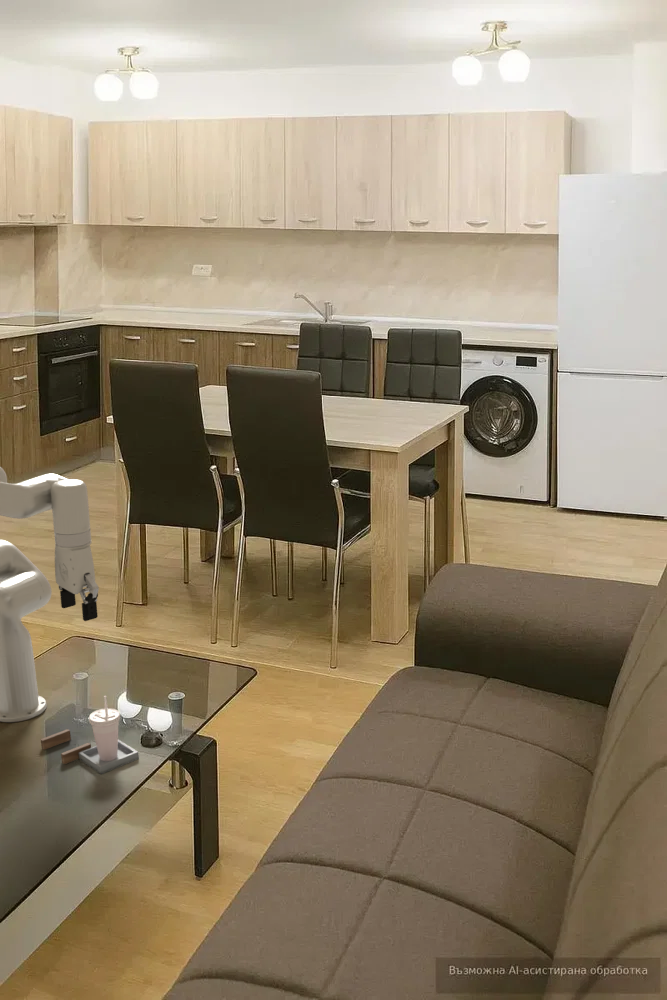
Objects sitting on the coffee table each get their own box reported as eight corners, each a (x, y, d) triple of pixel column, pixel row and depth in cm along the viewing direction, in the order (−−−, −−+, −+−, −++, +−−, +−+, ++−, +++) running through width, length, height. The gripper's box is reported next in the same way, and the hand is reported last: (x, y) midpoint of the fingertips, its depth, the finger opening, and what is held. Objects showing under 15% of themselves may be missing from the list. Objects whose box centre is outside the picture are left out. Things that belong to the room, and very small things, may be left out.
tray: (79, 759, 233) (78, 752, 232) (116, 744, 238) (115, 737, 238) (101, 774, 226) (100, 767, 226) (138, 758, 232) (138, 751, 231)
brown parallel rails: (41, 748, 238) (40, 739, 237) (68, 738, 242) (67, 728, 241) (64, 764, 231) (63, 755, 230) (91, 753, 235) (90, 744, 234)
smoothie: (117, 765, 228) (111, 703, 225) (88, 763, 230) (81, 702, 226) (128, 750, 234) (122, 690, 231) (100, 748, 236) (94, 688, 232)
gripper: (38, 532, 238) (45, 606, 243) (76, 551, 225) (83, 629, 230) (69, 525, 243) (76, 597, 248) (109, 543, 230) (114, 619, 235)
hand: (79, 612), depth 239 cm, fingers open, 9 cm apart
